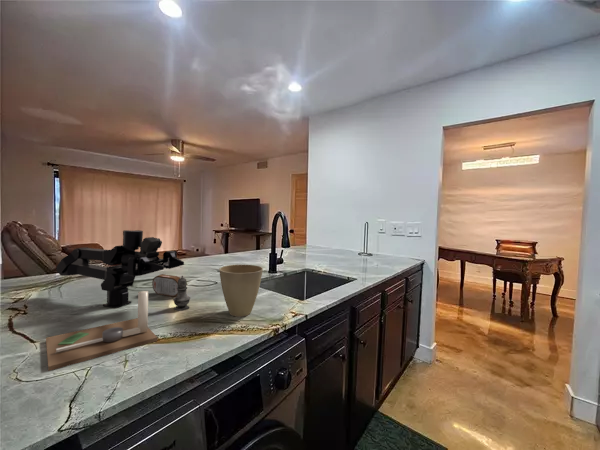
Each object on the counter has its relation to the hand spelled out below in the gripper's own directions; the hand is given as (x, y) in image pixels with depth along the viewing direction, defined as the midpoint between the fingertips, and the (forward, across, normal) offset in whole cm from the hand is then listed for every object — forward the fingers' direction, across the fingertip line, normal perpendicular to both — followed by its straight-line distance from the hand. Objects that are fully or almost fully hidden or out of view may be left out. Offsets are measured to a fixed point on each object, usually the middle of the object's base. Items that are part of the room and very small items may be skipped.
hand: (174, 265), depth 92 cm
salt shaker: (-1, +6, +17) cm, 18 cm away
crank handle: (+1, -23, +15) cm, 28 cm away
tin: (-17, +16, +18) cm, 30 cm away
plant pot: (+21, +10, +16) cm, 28 cm away
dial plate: (-2, -22, +17) cm, 28 cm away
